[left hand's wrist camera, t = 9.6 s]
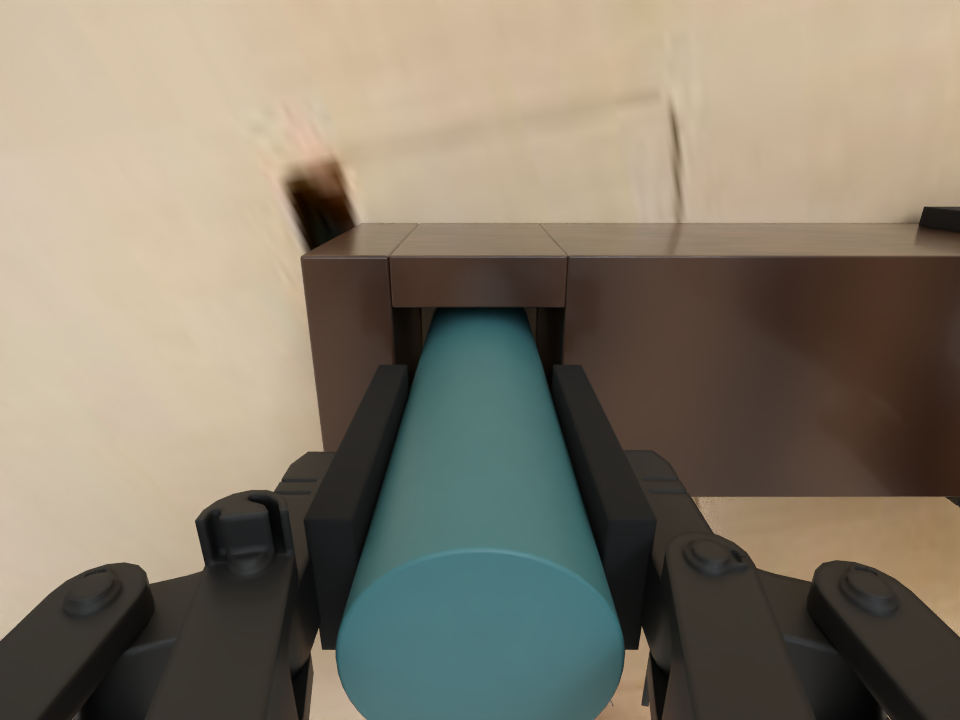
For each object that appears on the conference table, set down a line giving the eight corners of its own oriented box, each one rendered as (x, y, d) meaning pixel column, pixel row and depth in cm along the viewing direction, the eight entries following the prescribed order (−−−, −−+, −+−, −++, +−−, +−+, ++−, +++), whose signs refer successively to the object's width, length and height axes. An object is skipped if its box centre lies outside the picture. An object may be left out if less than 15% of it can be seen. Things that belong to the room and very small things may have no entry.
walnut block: (373, 396, 25) (328, 497, 18) (360, 222, 22) (299, 255, 15) (963, 396, 25) (1170, 497, 18) (1026, 223, 22) (1304, 255, 15)
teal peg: (415, 354, 22) (295, 715, 8) (455, 266, 20) (398, 505, 6) (503, 391, 22) (542, 790, 8) (547, 308, 21) (682, 613, 7)
